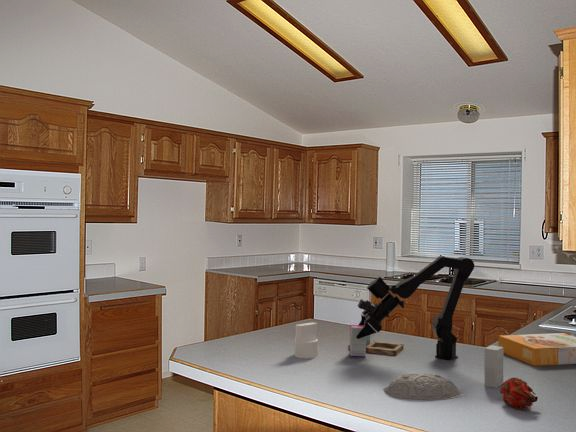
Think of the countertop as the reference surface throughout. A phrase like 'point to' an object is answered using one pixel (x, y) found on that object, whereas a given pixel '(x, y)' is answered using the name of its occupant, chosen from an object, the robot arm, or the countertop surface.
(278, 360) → the countertop surface
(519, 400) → the dragon fruit
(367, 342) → the wing block
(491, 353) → the skincare box
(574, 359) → the cereal box
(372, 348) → the cradle
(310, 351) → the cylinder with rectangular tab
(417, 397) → the grey oval domed piece
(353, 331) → the supplement box
